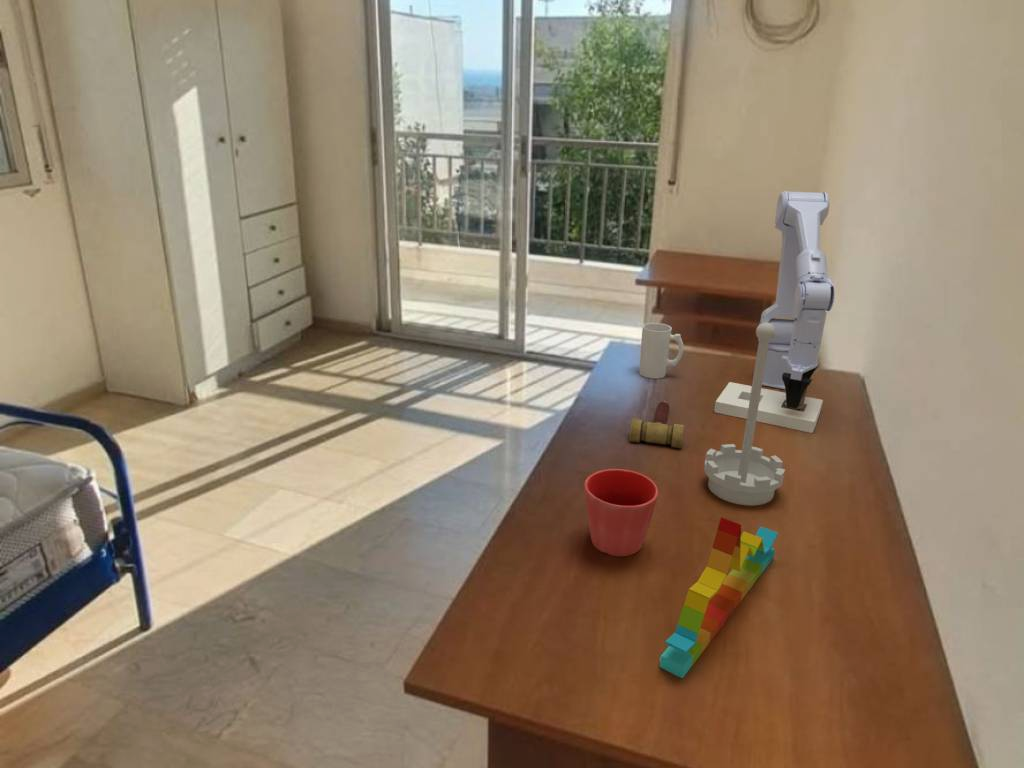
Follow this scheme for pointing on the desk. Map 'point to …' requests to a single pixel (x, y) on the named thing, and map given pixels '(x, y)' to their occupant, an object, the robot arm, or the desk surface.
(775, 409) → the board
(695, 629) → the chart
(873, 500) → the desk surface
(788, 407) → the peg
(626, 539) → the flower pot
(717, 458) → the flag stand
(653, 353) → the mug
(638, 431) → the gavel
